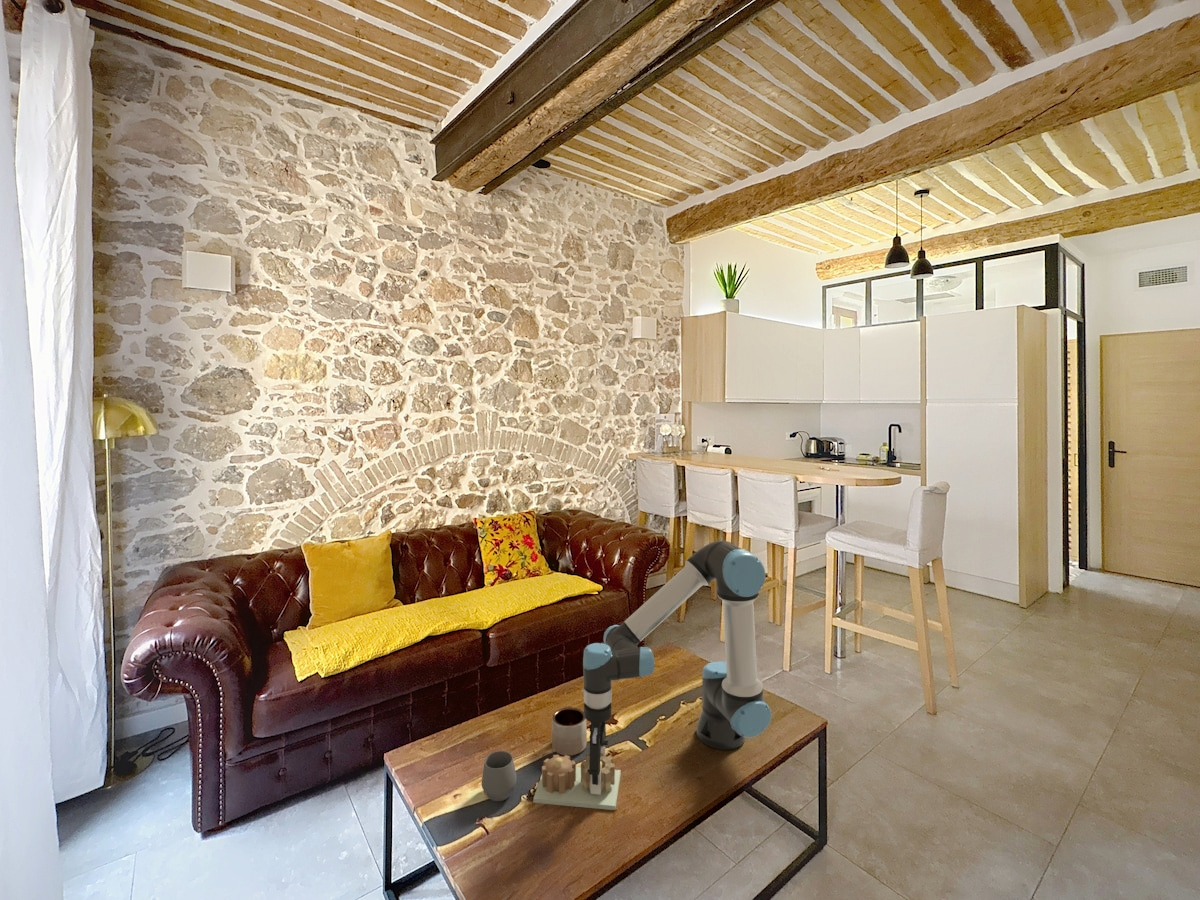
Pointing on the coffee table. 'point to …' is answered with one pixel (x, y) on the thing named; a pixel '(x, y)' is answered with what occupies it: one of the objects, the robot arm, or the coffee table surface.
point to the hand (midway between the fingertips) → (598, 780)
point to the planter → (569, 731)
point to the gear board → (571, 786)
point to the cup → (499, 775)
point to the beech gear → (606, 773)
